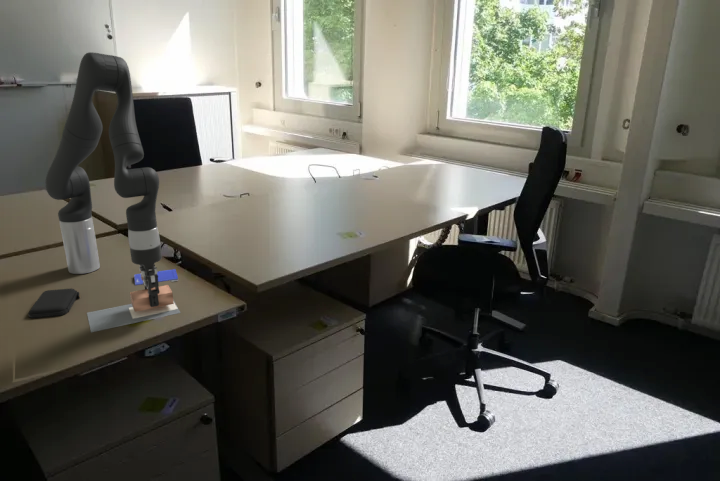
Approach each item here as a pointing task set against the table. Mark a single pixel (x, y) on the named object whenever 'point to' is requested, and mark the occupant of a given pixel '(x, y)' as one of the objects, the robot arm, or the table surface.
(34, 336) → the table surface
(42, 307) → the carrying case or bag
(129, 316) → the mat
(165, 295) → the block
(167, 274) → the hard drive
